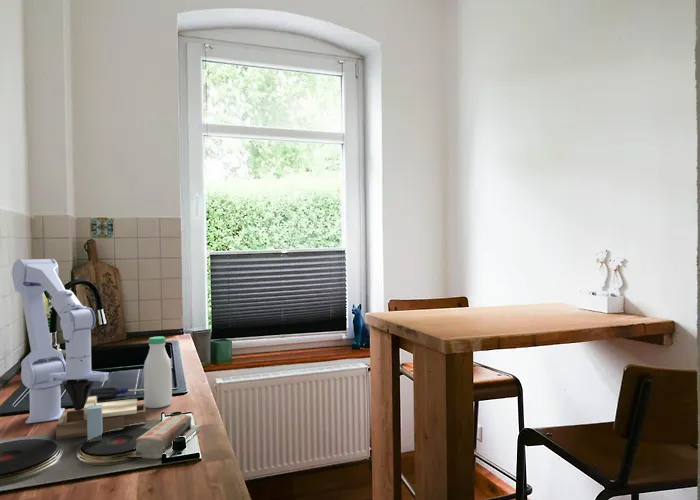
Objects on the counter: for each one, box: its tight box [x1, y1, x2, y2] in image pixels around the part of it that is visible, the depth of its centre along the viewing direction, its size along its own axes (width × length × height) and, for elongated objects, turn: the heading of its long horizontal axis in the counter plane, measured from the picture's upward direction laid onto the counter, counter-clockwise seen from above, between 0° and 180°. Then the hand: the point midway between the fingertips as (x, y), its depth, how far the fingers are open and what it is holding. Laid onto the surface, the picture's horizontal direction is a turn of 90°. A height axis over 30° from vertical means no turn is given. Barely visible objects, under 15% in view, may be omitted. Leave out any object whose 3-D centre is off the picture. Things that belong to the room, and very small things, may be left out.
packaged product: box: [135, 413, 202, 459], centre depth 118 cm, size 18×5×10 cm
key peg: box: [86, 404, 104, 441], centre depth 120 cm, size 3×3×8 cm
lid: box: [83, 395, 138, 420], centre depth 131 cm, size 10×12×3 cm
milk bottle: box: [143, 335, 173, 409], centre depth 147 cm, size 8×8×20 cm
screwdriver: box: [89, 385, 177, 399], centre depth 158 cm, size 26×4×4 cm, turn 112°
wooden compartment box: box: [55, 403, 146, 441], centre depth 130 cm, size 12×20×3 cm, turn 112°
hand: (79, 409), depth 127 cm, fingers closed
